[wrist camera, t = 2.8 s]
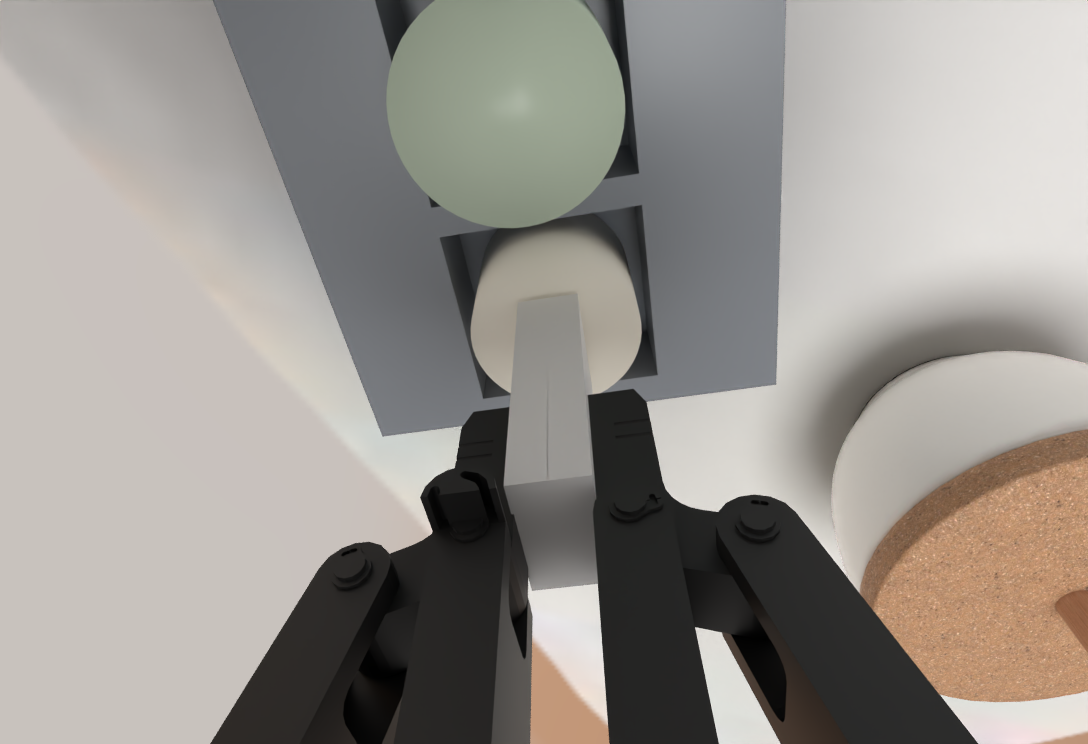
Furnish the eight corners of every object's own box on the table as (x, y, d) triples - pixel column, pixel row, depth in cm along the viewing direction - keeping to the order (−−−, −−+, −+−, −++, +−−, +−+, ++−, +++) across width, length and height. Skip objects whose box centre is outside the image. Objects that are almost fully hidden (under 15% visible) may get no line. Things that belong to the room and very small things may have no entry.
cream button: (466, 218, 19) (452, 271, 16) (619, 193, 19) (633, 243, 16) (497, 347, 22) (490, 413, 19) (634, 327, 21) (648, 392, 18)
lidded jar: (992, 540, 29) (1157, 773, 21) (750, 506, 28) (829, 738, 20) (1165, 323, 23) (1486, 535, 15) (866, 270, 22) (1044, 468, 14)
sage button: (392, -13, 14) (353, 5, 12) (598, -54, 14) (611, -46, 11) (443, 187, 17) (422, 243, 14) (620, 157, 16) (635, 209, 14)
